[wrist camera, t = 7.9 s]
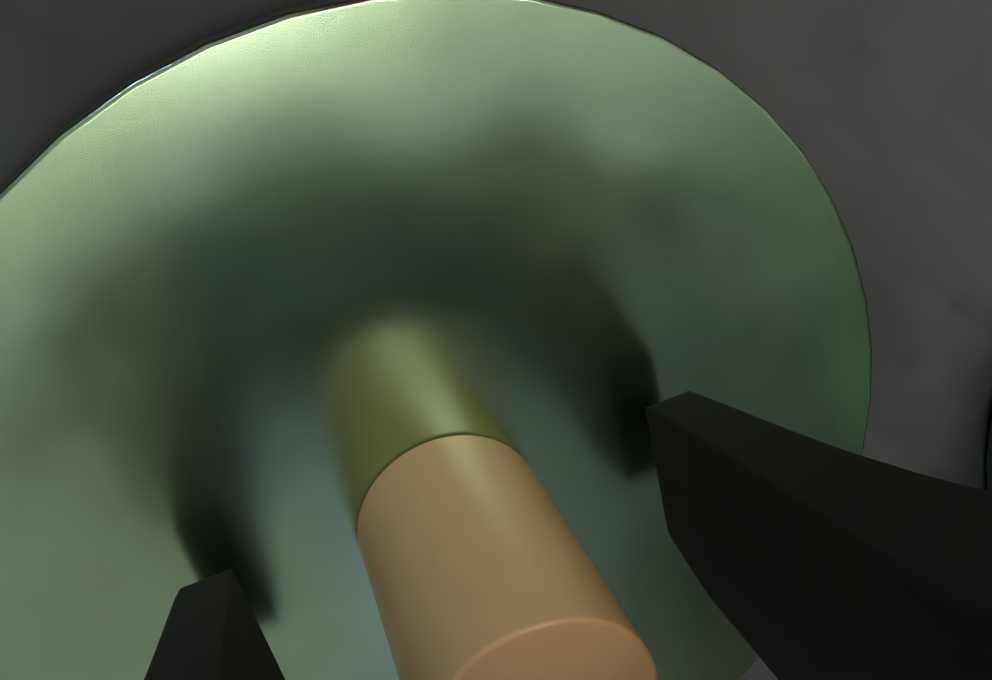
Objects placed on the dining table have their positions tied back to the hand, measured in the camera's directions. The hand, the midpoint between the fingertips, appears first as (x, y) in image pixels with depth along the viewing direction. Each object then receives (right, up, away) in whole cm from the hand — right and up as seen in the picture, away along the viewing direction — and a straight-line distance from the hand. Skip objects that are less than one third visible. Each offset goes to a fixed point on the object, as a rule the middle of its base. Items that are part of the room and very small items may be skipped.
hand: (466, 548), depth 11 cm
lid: (0, 0, +1) cm, 1 cm away
